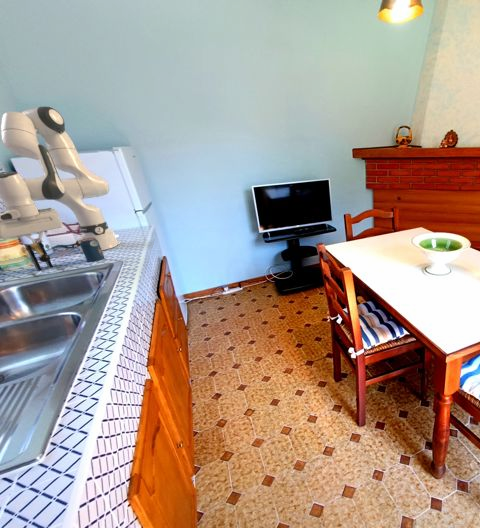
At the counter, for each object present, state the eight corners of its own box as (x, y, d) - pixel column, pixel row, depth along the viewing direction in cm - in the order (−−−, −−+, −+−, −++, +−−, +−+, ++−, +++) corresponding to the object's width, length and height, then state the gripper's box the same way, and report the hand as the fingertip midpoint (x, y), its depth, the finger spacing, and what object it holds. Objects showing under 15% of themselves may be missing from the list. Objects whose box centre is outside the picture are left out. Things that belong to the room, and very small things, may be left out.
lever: (52, 262, 136) (50, 255, 134) (42, 264, 134) (40, 258, 132) (39, 247, 141) (37, 241, 139) (29, 249, 138) (26, 243, 136)
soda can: (107, 260, 151) (99, 238, 147) (91, 265, 146) (81, 242, 141) (102, 258, 155) (93, 236, 150) (86, 263, 149) (76, 240, 145)
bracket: (62, 269, 143) (49, 242, 138) (37, 276, 136) (22, 248, 131) (54, 265, 149) (42, 239, 144) (29, 272, 142) (15, 244, 137)
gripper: (52, 206, 137) (65, 235, 142) (-14, 216, 121) (3, 248, 126) (57, 207, 133) (70, 237, 139) (-10, 218, 118) (7, 250, 123)
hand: (38, 242), depth 132 cm, fingers closed
